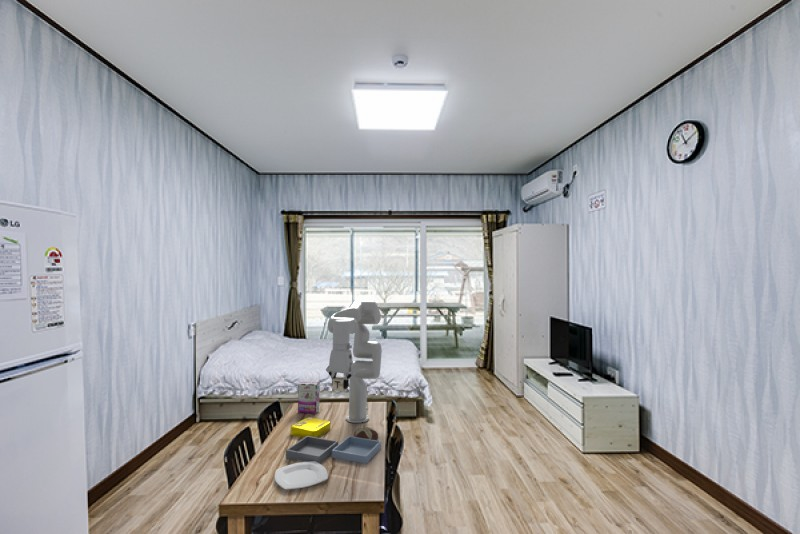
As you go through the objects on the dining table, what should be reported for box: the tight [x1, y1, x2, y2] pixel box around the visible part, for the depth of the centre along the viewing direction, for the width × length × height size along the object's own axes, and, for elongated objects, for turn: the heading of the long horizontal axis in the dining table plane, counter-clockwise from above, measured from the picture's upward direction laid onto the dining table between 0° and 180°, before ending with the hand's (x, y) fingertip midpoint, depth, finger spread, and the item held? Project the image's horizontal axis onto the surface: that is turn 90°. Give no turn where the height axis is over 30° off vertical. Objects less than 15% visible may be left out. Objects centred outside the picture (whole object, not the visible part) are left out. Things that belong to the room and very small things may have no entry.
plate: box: [274, 461, 328, 491], centre depth 147 cm, size 19×19×2 cm
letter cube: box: [331, 376, 349, 392], centre depth 174 cm, size 5×5×5 cm
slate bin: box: [331, 435, 382, 465], centre depth 168 cm, size 16×16×4 cm
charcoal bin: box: [285, 436, 339, 464], centre depth 168 cm, size 16×16×4 cm
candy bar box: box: [297, 381, 320, 415], centre depth 221 cm, size 11×5×16 cm, turn 80°
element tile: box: [290, 417, 331, 439], centre depth 192 cm, size 15×15×5 cm
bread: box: [353, 426, 379, 441], centre depth 185 cm, size 11×11×5 cm
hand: (340, 387), depth 174 cm, fingers closed on letter cube, 4 cm apart
